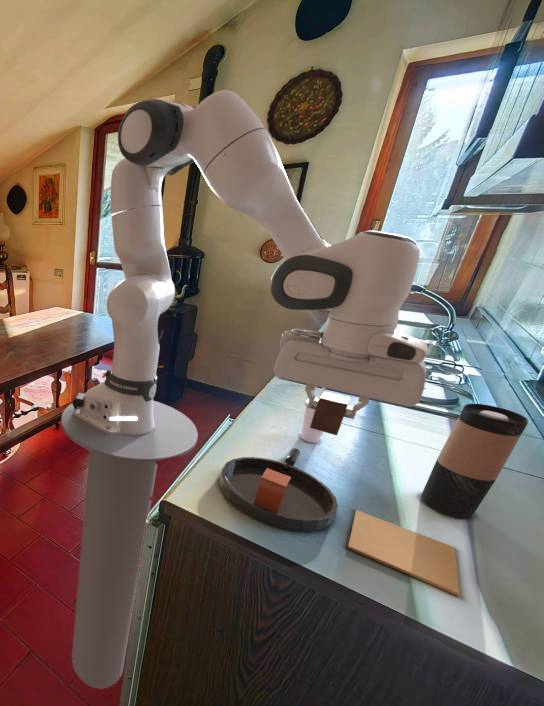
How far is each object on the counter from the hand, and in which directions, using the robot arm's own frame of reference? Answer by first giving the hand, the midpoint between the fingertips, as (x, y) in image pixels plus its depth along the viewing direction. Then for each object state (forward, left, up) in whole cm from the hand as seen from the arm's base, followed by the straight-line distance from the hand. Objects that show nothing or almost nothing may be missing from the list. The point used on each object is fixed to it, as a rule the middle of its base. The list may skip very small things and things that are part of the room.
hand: (330, 412), depth 69 cm
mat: (+15, -4, -19) cm, 24 cm away
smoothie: (-3, +27, -19) cm, 33 cm away
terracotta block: (-4, -8, -18) cm, 20 cm away
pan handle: (-4, +10, -19) cm, 22 cm away
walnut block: (0, 0, -3) cm, 3 cm away
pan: (-4, -4, -19) cm, 19 cm away
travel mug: (+21, +16, -19) cm, 33 cm away
